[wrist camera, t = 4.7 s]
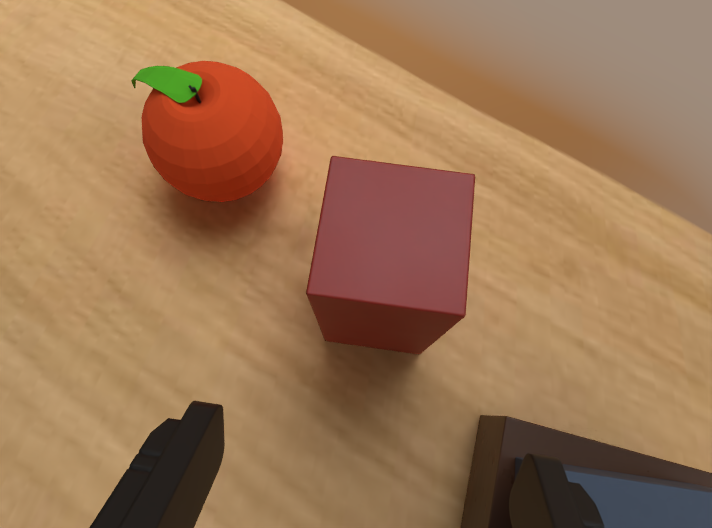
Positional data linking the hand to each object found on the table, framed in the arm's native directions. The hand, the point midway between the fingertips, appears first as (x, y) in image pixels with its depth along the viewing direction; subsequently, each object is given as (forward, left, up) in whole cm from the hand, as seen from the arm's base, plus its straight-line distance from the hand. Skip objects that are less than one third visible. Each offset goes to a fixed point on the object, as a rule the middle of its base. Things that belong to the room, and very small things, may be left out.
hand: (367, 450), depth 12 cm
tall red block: (-3, +6, -11) cm, 13 cm away
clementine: (-15, +8, -11) cm, 20 cm away
